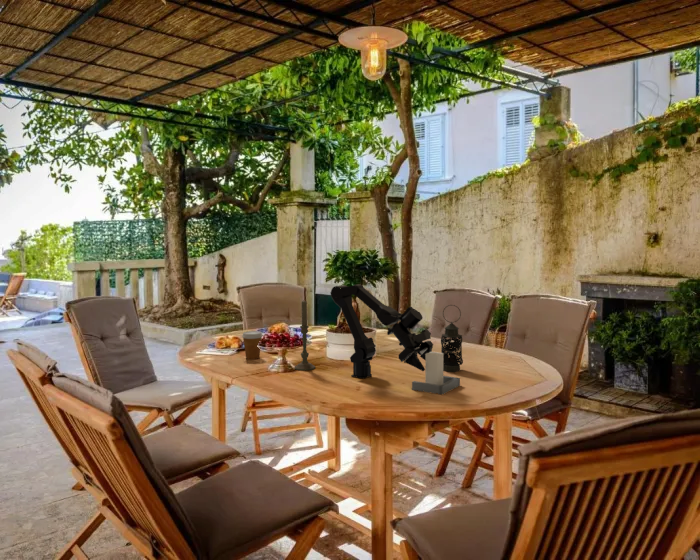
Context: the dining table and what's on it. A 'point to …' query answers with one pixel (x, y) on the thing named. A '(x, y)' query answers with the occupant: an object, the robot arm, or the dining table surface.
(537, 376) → the dining table surface
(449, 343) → the lantern
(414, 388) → the frame
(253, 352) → the disposable coffee cup
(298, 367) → the candlestick holder
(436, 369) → the post
